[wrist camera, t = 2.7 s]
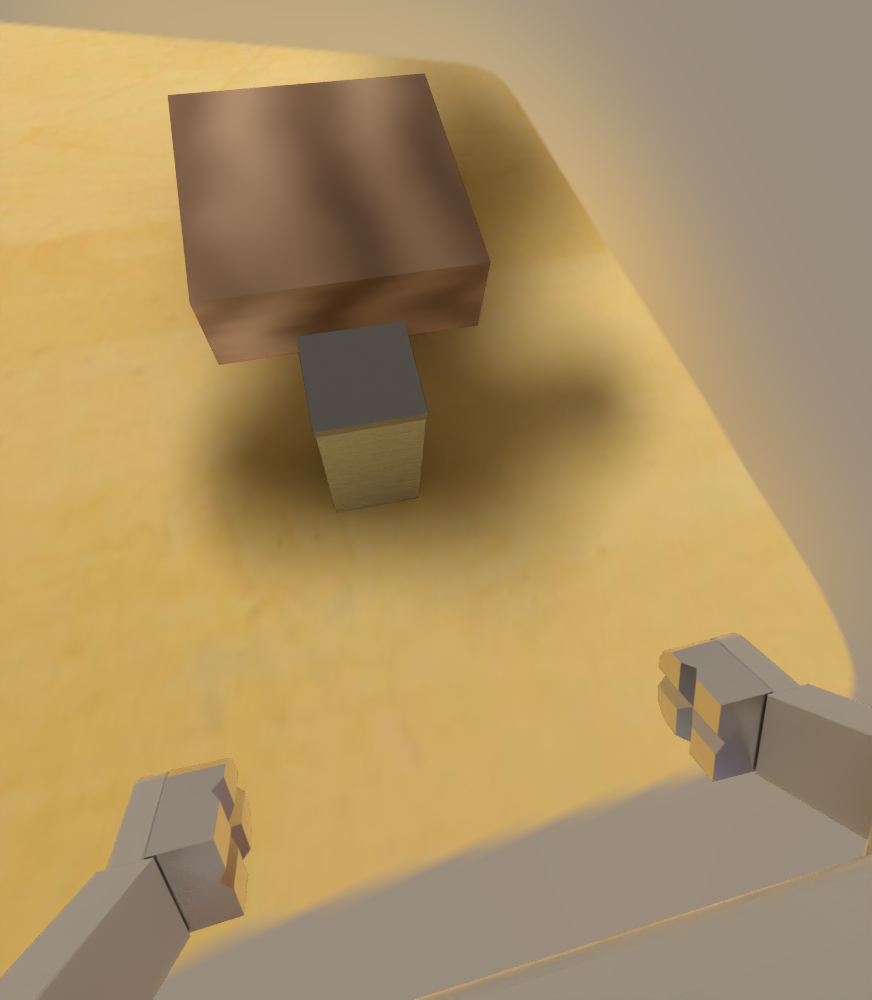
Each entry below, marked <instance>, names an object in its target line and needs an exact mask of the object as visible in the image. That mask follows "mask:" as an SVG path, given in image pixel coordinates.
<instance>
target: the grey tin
mask: <svg viewBox="0 0 872 1000" xmlns="http://www.w3.org/2000/svg"><path fill="white" fill-rule="evenodd" d="M296 339H297V345H298V351H299V356H300V362H301V368H302V373H303V379H304V385H305V391H306V396H307V402H308V408H309V413H310V419H311V425H312V431H313V435H314V438H316V440H317V444H318V447H319V451H320V455H321V458H322V462H323V466H324V469H325V473H326V477H327V481H328V484H329V488H330V492H331V495H332V499H333V503H334V506H335V510H336V513H339V512H344V511H349V510H354V509H359V508H365V507H370V506H375V505H380V504H386V503H391V502H396V501H401V500H407V499H412V498H417V497H419V488H420V478H421V467H422V457H423V446H424V436H425V426H426V419H428V409H427V406H426V402H425V398H424V394H423V390H422V386H421V382H420V379H419V375H418V371H417V367H416V363H415V359H414V355H413V352H412V348H411V344H410V340H409V336H408V332H407V329H406V325H405V321H401V322H394V323H387V324H380V325H373V326H366V327H360V328H353V329H346V330H339V331H332V332H325V333H318V334H312V335H305V336H298V337H296Z"/></svg>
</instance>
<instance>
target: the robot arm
mask: <svg viewBox="0 0 872 1000" xmlns="http://www.w3.org/2000/svg"><path fill="white" fill-rule="evenodd" d="M659 668H660V669H661V671H662V672H663V673H664V674H665V677H664V678H663V680H662V681H661V683H660V684H659V685H658V702H659V705H660V709H661V712H662V715H663V717H664V719H665V721H666V722H667V724H668V726H669V727H670V728H671V730H672V731H673V732H674V734H675V735H677V736H679V737H681V738H683V739H685V740H687V741H689V742H690V754H691V755H692V757H693V758H694V759H695V761H696V762H697V763H698V764H699V766H700V767H701V768H702V769H703V771H704V772H705V773H706V774H707V776H708V777H709V778H710V780H711V781H712V782H714V781H718V780H722V779H726V778H730V777H734V776H738V775H742V774H746V773H750V772H754V771H756V773H755V774H757V775H759V776H760V777H762V778H764V779H765V780H767V781H769V782H770V783H772V784H774V785H776V786H777V787H779V788H781V789H782V790H784V791H786V792H787V793H789V794H791V795H792V796H794V797H796V798H797V799H799V800H801V801H803V802H804V803H806V804H807V805H809V806H811V807H813V808H814V809H816V810H818V811H819V812H821V813H823V814H824V815H826V816H828V817H829V818H831V819H833V820H835V821H836V822H838V823H840V824H841V825H843V826H845V827H847V828H848V829H850V830H851V831H853V832H855V833H856V834H858V835H860V836H862V837H863V838H865V839H867V843H866V847H865V851H864V854H863V856H862V857H859V858H856V859H853V860H850V861H846V862H843V863H840V864H837V865H834V866H831V867H828V868H824V869H821V870H818V871H815V872H812V873H809V874H806V875H803V876H799V877H796V878H793V879H790V880H787V881H784V882H780V883H777V884H774V885H771V886H768V887H765V888H762V889H759V890H755V891H753V892H749V893H746V894H743V895H740V896H737V897H734V898H730V899H727V900H724V901H721V902H718V903H715V904H712V905H708V906H706V907H703V908H699V909H696V910H693V911H690V912H687V913H684V914H680V915H677V916H674V917H671V918H668V919H665V920H662V921H659V922H655V923H653V924H649V925H646V926H643V927H640V928H637V929H633V930H631V931H627V932H624V933H621V934H618V935H615V936H612V937H609V938H605V939H602V940H599V941H596V942H593V943H590V944H586V945H583V946H580V947H577V948H574V949H571V950H568V951H565V952H561V953H558V954H555V955H552V956H549V957H546V958H543V959H539V960H536V961H533V962H530V963H527V964H524V965H521V966H517V967H514V968H511V969H508V970H505V971H502V972H499V973H496V974H492V975H490V976H486V977H483V978H480V979H477V980H474V981H470V982H467V983H464V984H461V985H458V986H455V987H452V988H449V989H445V990H442V991H439V992H436V993H433V994H430V995H427V996H423V997H420V998H417V999H414V1000H872V707H871V706H868V705H865V704H863V703H860V702H857V701H854V700H851V699H849V698H846V697H843V696H840V695H837V694H835V693H832V692H829V691H826V690H823V689H820V688H818V687H815V686H812V685H809V684H806V685H802V686H800V685H799V684H798V683H797V682H796V681H794V680H793V679H792V678H791V677H790V676H789V675H787V674H786V673H785V672H784V671H783V670H781V669H780V668H779V667H778V666H777V665H776V664H774V663H773V662H772V661H771V660H770V659H769V658H767V657H766V656H765V655H764V654H763V653H762V652H760V651H759V650H758V649H757V648H756V647H755V646H753V645H752V644H751V643H750V642H749V641H747V640H746V639H745V638H744V637H743V636H741V635H739V634H736V633H731V634H727V635H723V636H719V637H715V638H712V639H710V640H704V641H701V642H697V643H693V644H689V645H685V646H681V647H677V648H673V649H669V650H665V651H663V652H662V654H661V656H660V662H659ZM237 779H238V771H237V769H236V766H235V764H234V761H233V759H230V758H226V759H222V760H217V761H213V762H208V763H204V764H199V765H194V766H190V767H185V768H181V769H176V770H172V771H170V772H166V773H161V774H157V775H152V776H147V777H143V778H140V779H139V780H138V781H137V782H136V784H135V785H134V787H133V789H132V792H131V795H130V798H129V801H128V804H127V807H126V810H125V814H124V817H123V820H122V823H121V826H120V829H119V832H118V835H117V838H116V841H115V844H114V847H113V850H112V853H111V856H110V859H109V862H108V865H107V868H106V870H103V871H100V872H96V873H95V874H94V875H93V877H92V878H91V879H90V880H89V881H88V882H87V883H86V884H85V885H84V887H83V888H82V889H81V890H80V891H79V892H78V893H77V894H76V895H75V896H74V898H73V899H72V900H71V901H70V902H69V903H68V904H67V905H66V906H65V907H64V909H63V910H62V911H61V912H60V913H59V914H58V915H57V916H56V917H55V918H54V920H53V921H52V922H51V923H50V924H49V925H48V926H47V927H46V928H45V929H44V931H43V932H42V933H41V934H40V935H39V936H38V937H37V938H36V939H35V940H34V942H33V943H32V944H31V945H30V946H29V947H28V948H27V949H26V950H25V951H24V953H23V954H22V955H21V956H20V957H19V958H18V959H17V960H16V961H15V962H14V964H13V965H12V966H11V967H10V968H9V969H8V970H7V971H6V972H5V973H4V975H3V976H2V977H1V978H0V1000H153V999H154V997H155V995H156V994H157V992H158V990H159V988H160V987H161V985H162V983H163V982H164V980H165V978H166V977H167V975H168V973H169V971H170V970H171V968H172V966H173V965H174V963H175V961H176V960H177V958H178V956H179V954H180V953H181V951H182V949H183V948H184V946H185V944H186V942H187V941H188V939H189V937H190V934H189V933H190V932H193V931H196V930H199V929H202V928H205V927H209V926H212V925H215V924H218V923H221V922H224V921H228V920H231V919H234V918H237V917H240V916H243V915H244V913H245V903H246V893H247V882H248V873H247V870H246V867H245V865H244V862H243V859H244V858H245V856H246V855H247V854H248V852H249V851H250V849H251V837H252V828H251V813H250V808H249V803H248V799H247V796H246V793H245V791H244V790H242V789H240V788H238V787H237Z"/></svg>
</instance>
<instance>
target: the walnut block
mask: <svg viewBox="0 0 872 1000" xmlns="http://www.w3.org/2000/svg"><path fill="white" fill-rule="evenodd" d="M168 102H169V111H170V121H171V130H172V140H173V149H174V159H175V168H176V178H177V187H178V197H179V206H180V215H181V225H182V234H183V244H184V253H185V263H186V272H187V282H188V291H189V301H190V305H191V307H192V309H193V311H194V313H195V315H196V317H197V319H198V321H199V324H200V326H201V328H202V330H203V332H204V334H205V336H206V338H207V340H208V343H209V345H210V347H211V349H212V351H213V353H214V355H215V357H216V359H217V361H218V364H219V365H221V364H228V363H234V362H241V361H247V360H254V359H260V358H266V357H273V356H279V355H286V354H292V353H299V351H298V345H297V339H296V337H298V336H305V335H312V334H318V333H325V332H332V331H339V330H346V329H353V328H360V327H366V326H373V325H380V324H387V323H394V322H401V321H405V325H406V329H407V332H408V336H409V335H415V334H422V333H428V332H435V331H441V330H448V329H454V328H461V327H467V326H474V325H478V320H479V315H480V310H481V305H482V300H483V296H484V291H485V286H486V281H487V276H488V271H489V266H490V259H489V257H488V254H487V251H486V248H485V245H484V242H483V239H482V237H481V234H480V231H479V228H478V225H477V222H476V219H475V217H474V214H473V211H472V208H471V205H470V202H469V199H468V196H467V194H466V191H465V188H464V185H463V182H462V179H461V176H460V174H459V171H458V168H457V165H456V162H455V159H454V156H453V154H452V151H451V148H450V145H449V142H448V139H447V136H446V133H445V131H444V128H443V125H442V122H441V119H440V116H439V113H438V111H437V108H436V105H435V102H434V99H433V96H432V93H431V91H430V88H429V85H428V82H427V79H426V76H425V74H415V75H403V76H391V77H379V78H367V79H355V80H344V81H332V82H320V83H308V84H296V85H284V86H272V87H261V88H249V89H237V90H225V91H213V92H201V93H189V94H177V95H168Z"/></svg>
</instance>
